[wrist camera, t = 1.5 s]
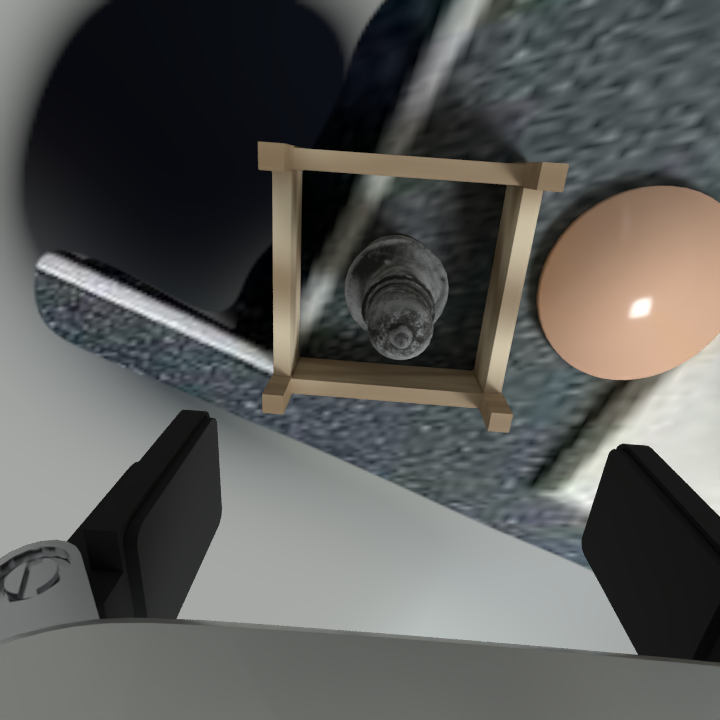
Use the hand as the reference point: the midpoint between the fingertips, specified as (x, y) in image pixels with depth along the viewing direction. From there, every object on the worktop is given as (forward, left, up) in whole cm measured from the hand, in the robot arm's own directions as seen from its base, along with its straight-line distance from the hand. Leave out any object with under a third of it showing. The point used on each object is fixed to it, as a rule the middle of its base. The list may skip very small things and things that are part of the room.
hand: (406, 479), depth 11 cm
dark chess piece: (0, 0, -20) cm, 20 cm away
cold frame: (0, 0, -20) cm, 20 cm away
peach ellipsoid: (-1, +15, -20) cm, 25 cm away
